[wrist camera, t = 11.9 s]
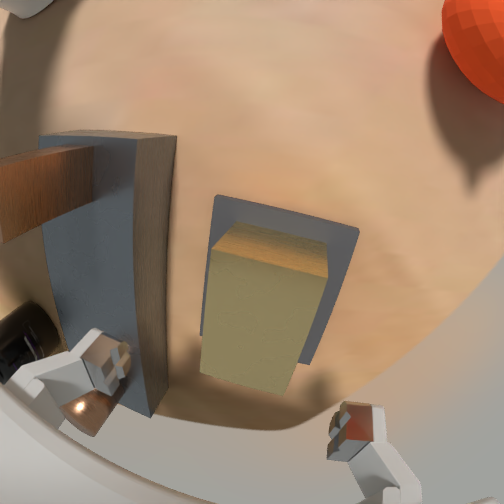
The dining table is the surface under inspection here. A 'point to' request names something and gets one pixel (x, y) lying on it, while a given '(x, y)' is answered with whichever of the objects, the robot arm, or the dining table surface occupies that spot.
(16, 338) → the supplement bottle
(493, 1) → the clementine
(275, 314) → the lever cap
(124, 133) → the body
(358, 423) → the robot arm
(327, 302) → the mat
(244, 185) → the dining table surface
